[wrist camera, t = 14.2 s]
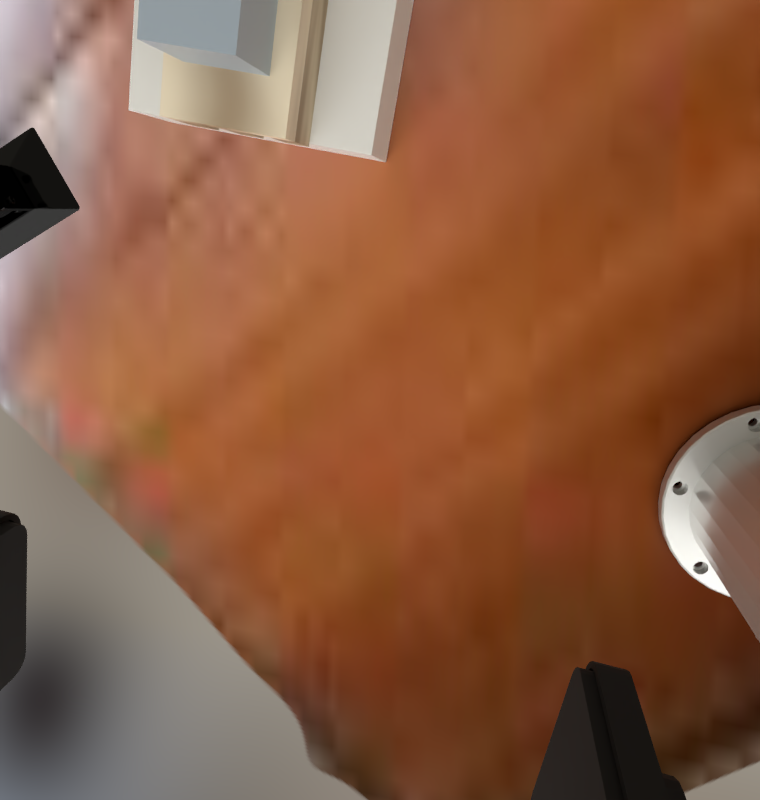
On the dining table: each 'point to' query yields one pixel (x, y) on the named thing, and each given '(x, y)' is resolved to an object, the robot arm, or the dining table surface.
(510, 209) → the dining table surface
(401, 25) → the dock
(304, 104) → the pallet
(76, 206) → the black piece
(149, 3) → the block
